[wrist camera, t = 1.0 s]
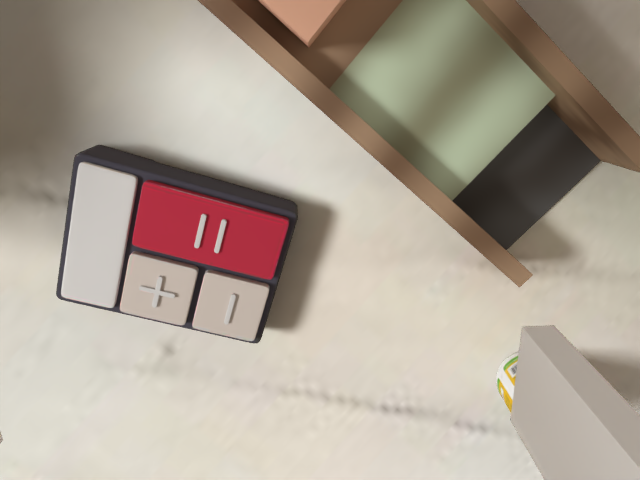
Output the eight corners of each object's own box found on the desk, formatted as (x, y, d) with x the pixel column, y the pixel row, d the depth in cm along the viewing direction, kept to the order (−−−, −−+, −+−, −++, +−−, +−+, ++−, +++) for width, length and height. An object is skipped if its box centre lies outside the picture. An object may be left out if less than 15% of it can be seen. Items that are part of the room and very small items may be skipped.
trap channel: (90, -102, 28) (45, -136, 24) (201, -289, 26) (175, -371, 21) (493, 259, 36) (519, 287, 32) (611, 147, 34) (660, 159, 29)
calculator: (258, 351, 35) (49, 304, 33) (261, 322, 39) (75, 278, 37) (299, 216, 32) (68, 153, 29) (298, 199, 36) (95, 142, 33)
